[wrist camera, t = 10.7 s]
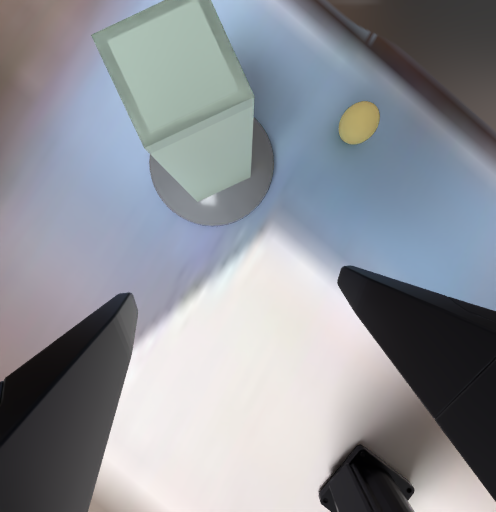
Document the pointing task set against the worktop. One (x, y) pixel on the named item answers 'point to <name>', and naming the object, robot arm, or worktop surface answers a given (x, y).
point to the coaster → (228, 200)
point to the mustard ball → (359, 122)
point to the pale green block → (183, 92)
